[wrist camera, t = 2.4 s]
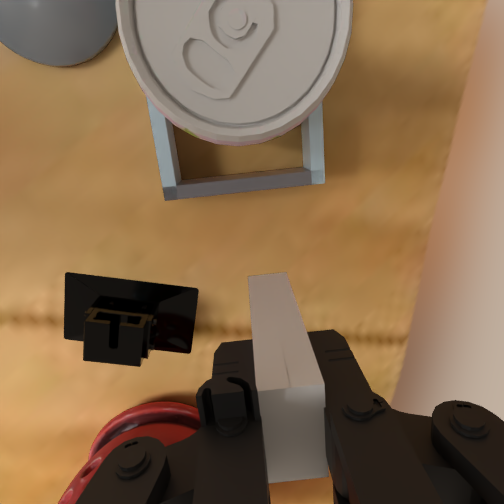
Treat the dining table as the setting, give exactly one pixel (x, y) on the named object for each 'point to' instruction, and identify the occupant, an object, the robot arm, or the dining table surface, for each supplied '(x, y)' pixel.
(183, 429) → the plant pot
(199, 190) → the channel
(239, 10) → the beverage can
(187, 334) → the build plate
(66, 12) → the grey round disc
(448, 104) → the dining table surface
